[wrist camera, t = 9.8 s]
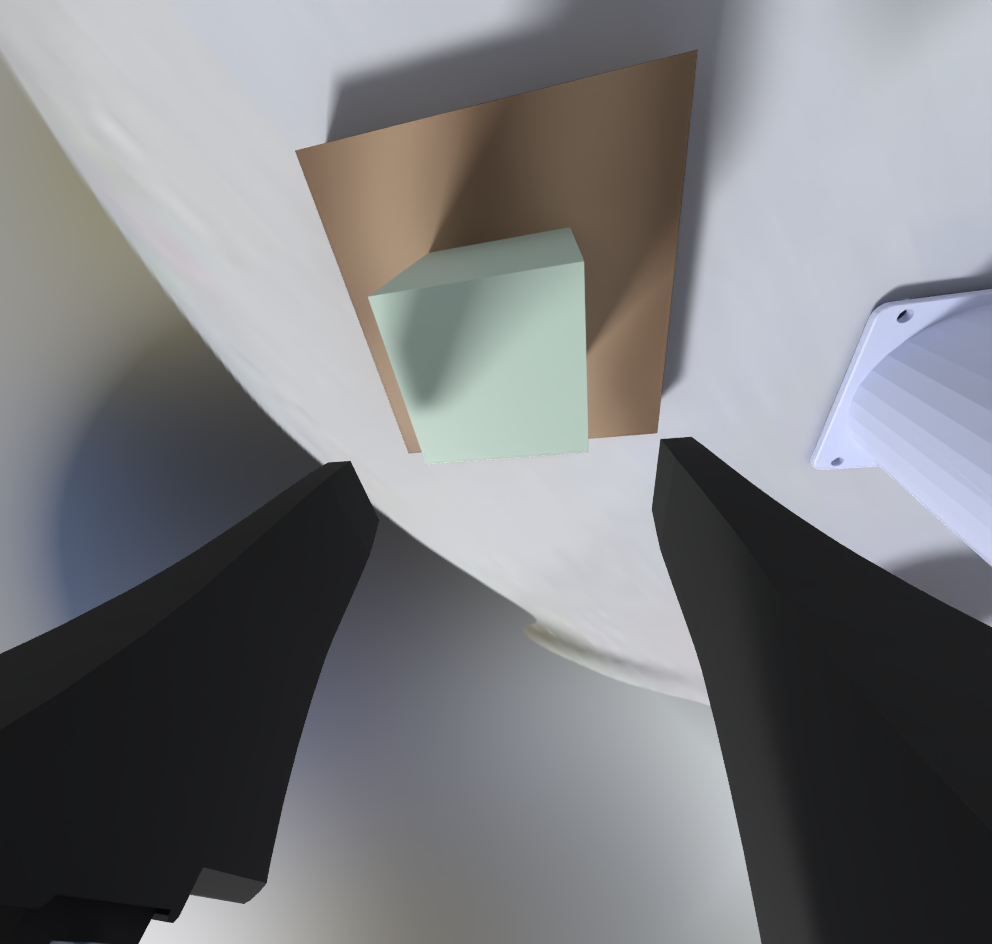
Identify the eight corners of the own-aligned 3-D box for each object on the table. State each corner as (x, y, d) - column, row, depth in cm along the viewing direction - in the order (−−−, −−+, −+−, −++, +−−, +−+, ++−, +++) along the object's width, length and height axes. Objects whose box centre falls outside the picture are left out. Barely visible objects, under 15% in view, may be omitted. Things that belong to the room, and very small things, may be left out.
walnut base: (677, 65, 12) (697, 49, 10) (648, 411, 19) (657, 433, 17) (323, 152, 14) (294, 150, 12) (418, 432, 21) (408, 453, 19)
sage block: (570, 226, 13) (584, 261, 8) (575, 368, 16) (588, 452, 11) (428, 252, 14) (367, 296, 9) (459, 381, 17) (425, 464, 12)
